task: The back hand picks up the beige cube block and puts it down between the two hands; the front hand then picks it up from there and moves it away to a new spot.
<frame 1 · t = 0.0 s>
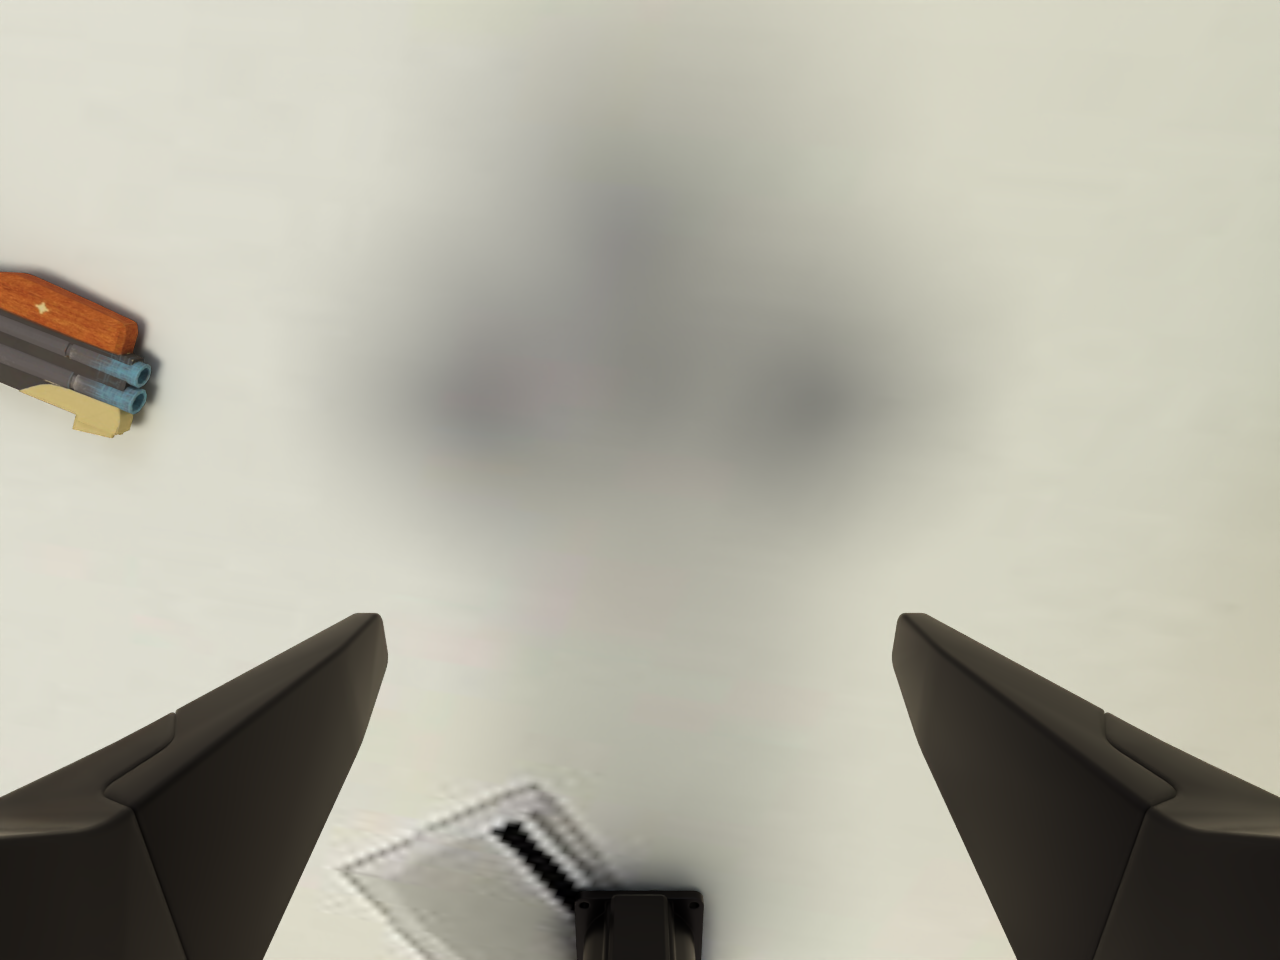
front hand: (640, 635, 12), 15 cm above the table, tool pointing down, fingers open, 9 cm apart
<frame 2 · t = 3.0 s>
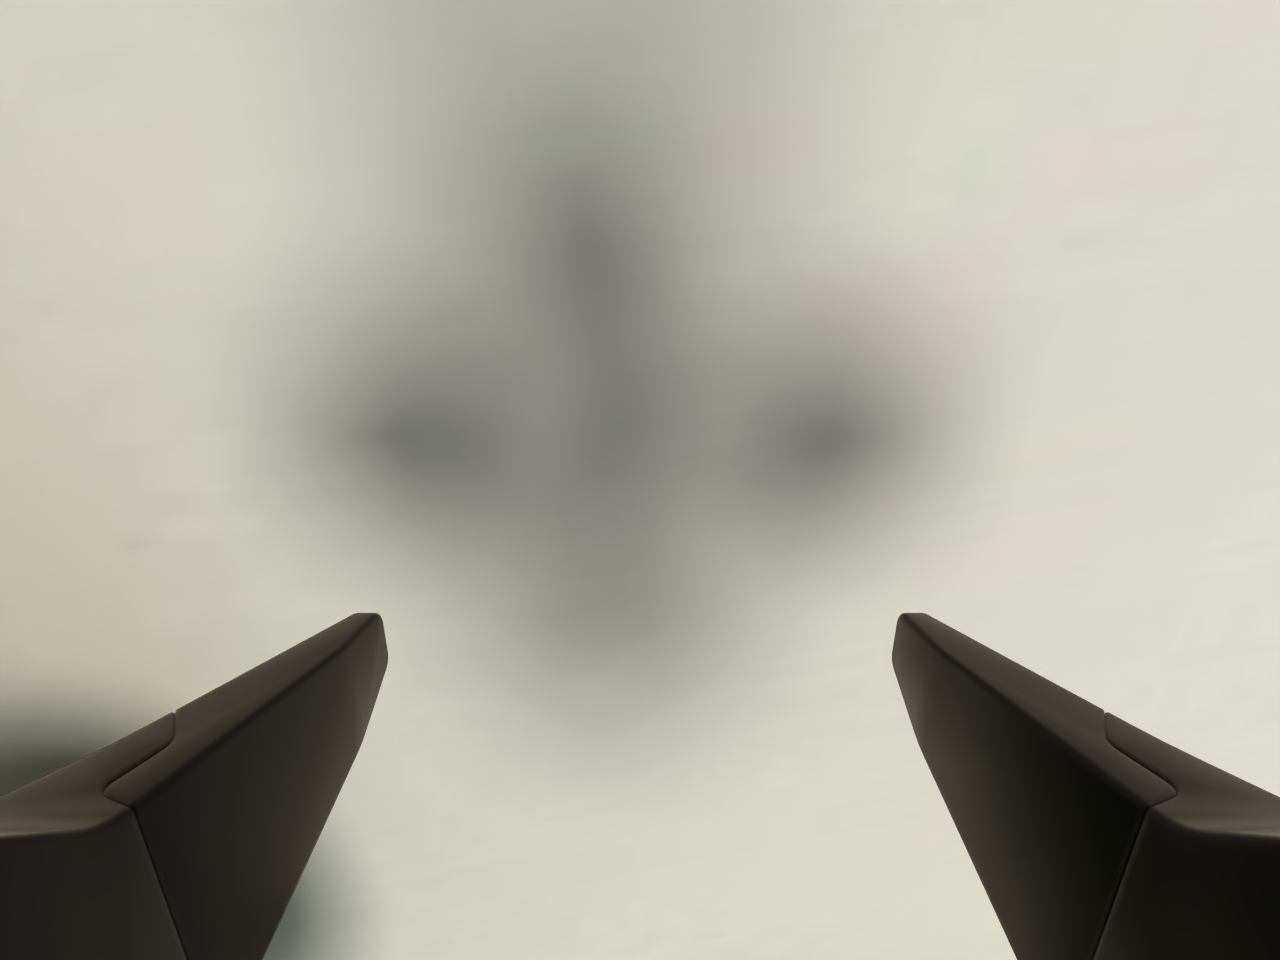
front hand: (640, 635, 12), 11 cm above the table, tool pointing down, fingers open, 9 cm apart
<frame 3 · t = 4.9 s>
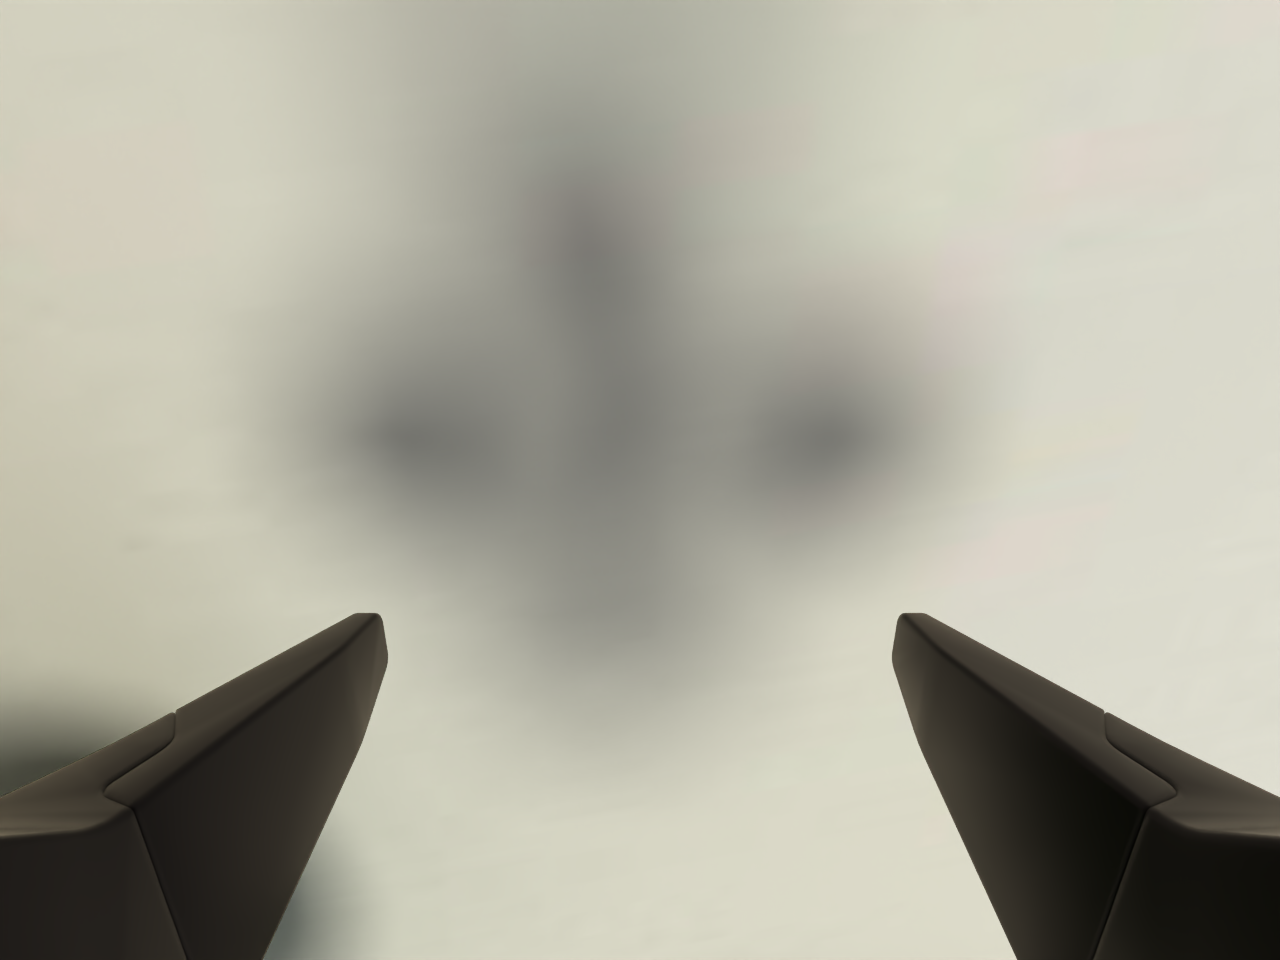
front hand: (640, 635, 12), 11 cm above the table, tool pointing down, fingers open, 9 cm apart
when the back hand's fingers open (1 cm above the table, at t = 7.3 s): beige cube block stays where it is, on the table.
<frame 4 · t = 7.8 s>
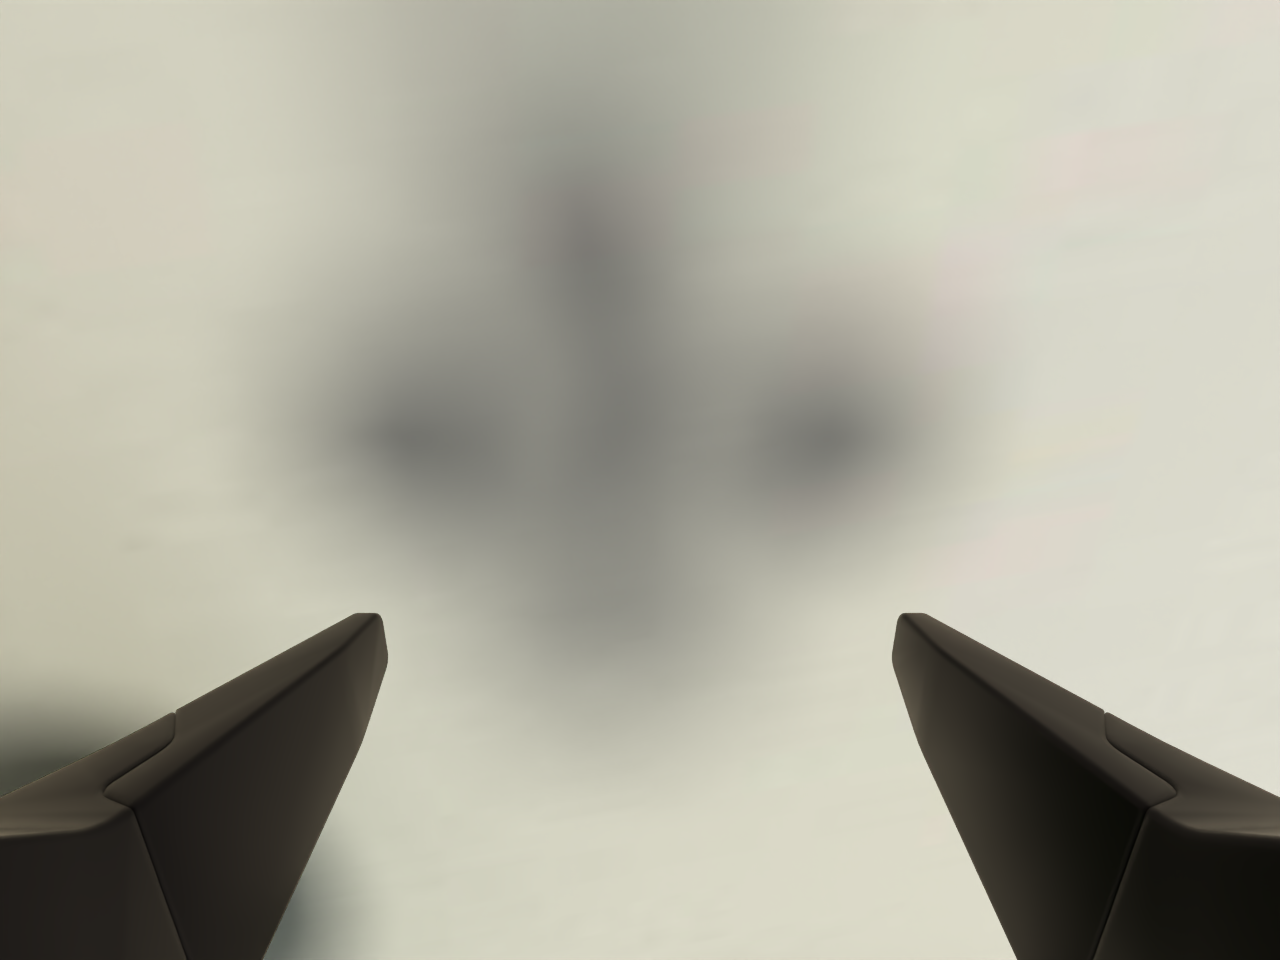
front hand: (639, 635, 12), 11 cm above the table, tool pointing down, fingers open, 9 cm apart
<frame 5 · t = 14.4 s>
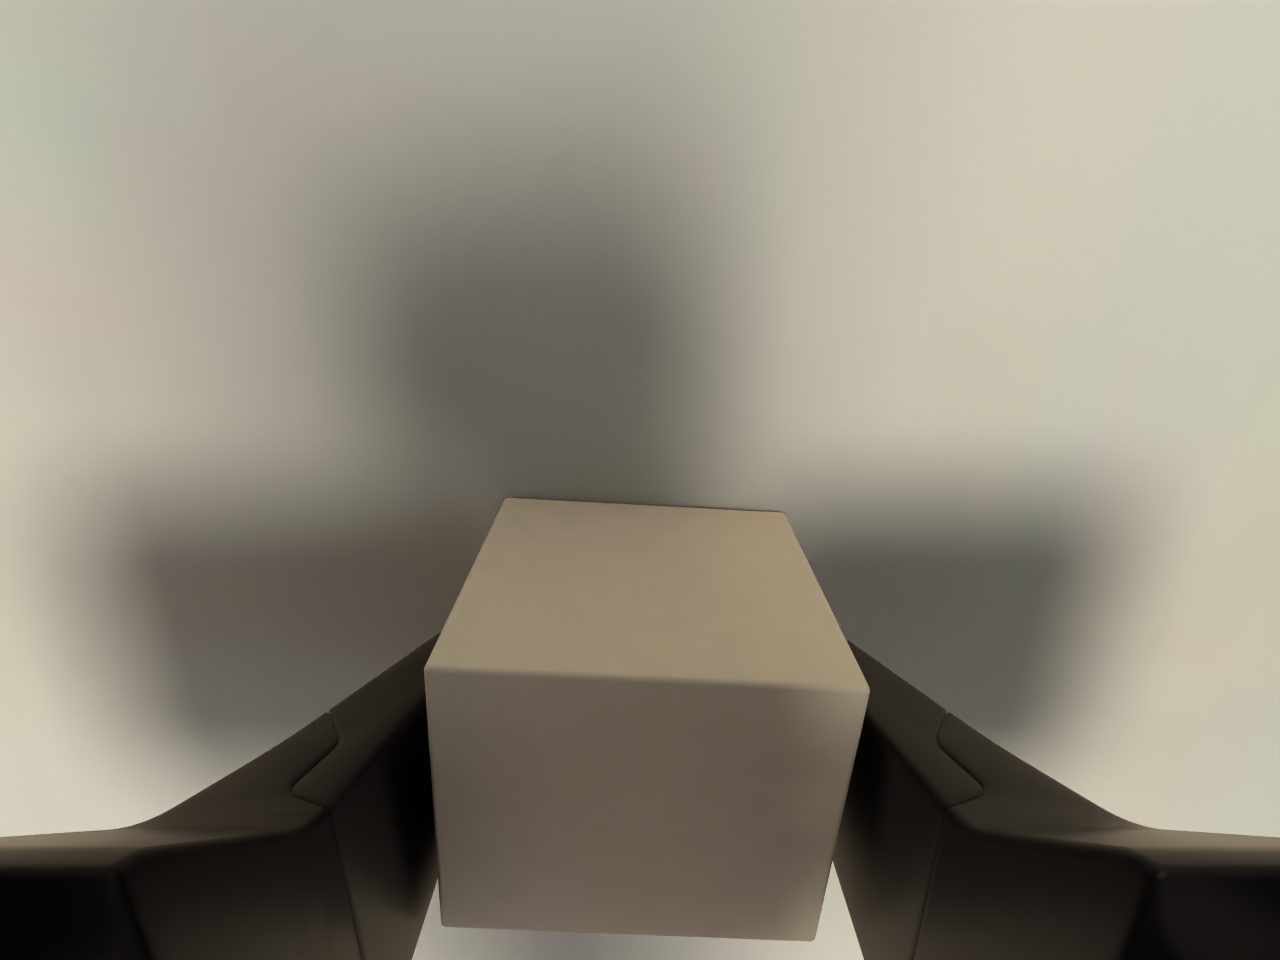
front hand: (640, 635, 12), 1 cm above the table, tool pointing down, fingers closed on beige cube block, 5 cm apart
beige cube block: (638, 604, 13), on the table, touching front hand
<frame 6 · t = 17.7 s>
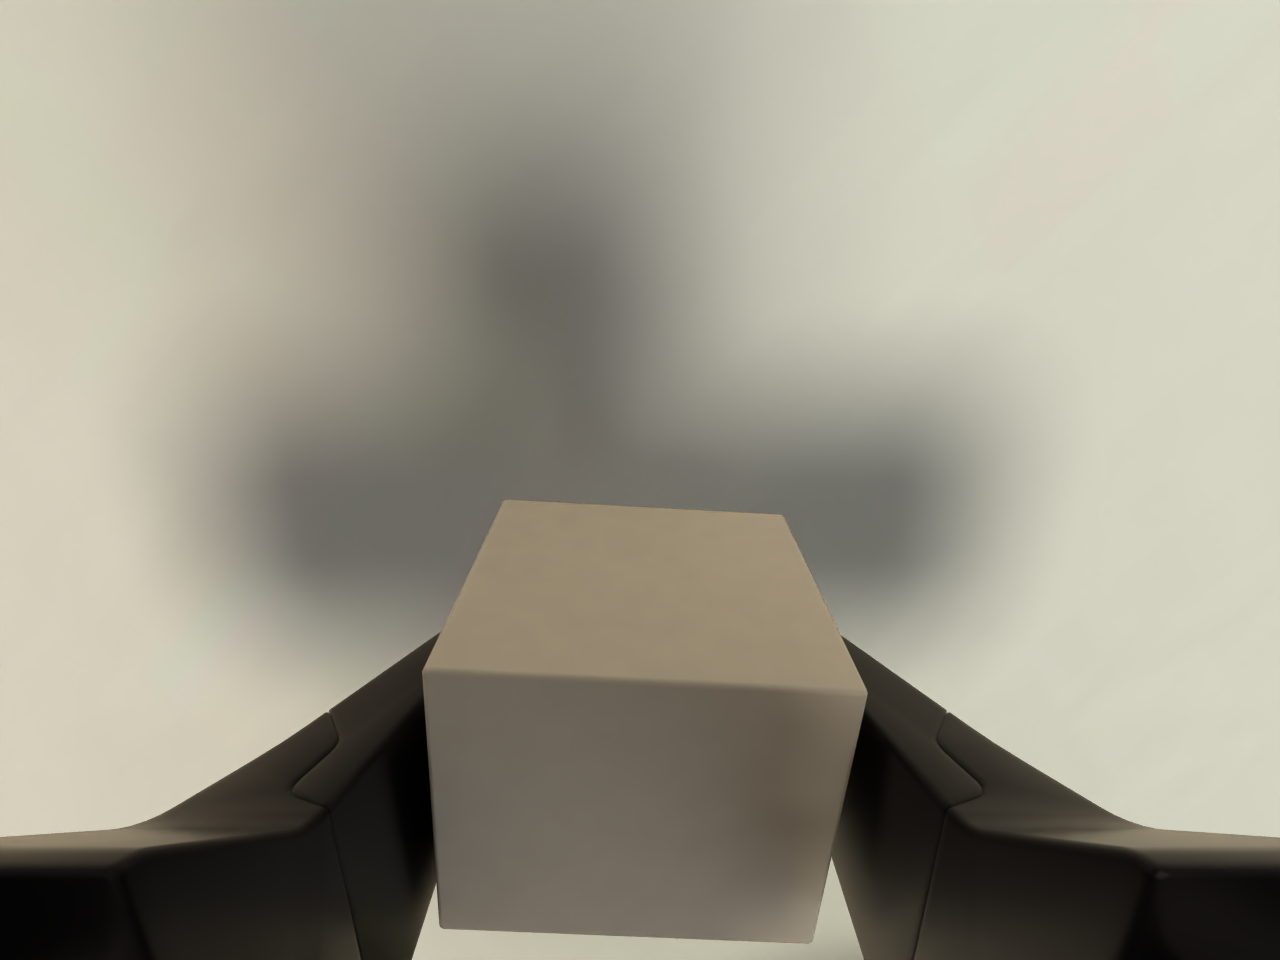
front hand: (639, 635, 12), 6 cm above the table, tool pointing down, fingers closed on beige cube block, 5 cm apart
beige cube block: (637, 606, 13), point 5 cm above the table, touching front hand
when the front hand's fingers open (2 cm above the table, at t = 21.0 s): beige cube block stays where it is, on the table.
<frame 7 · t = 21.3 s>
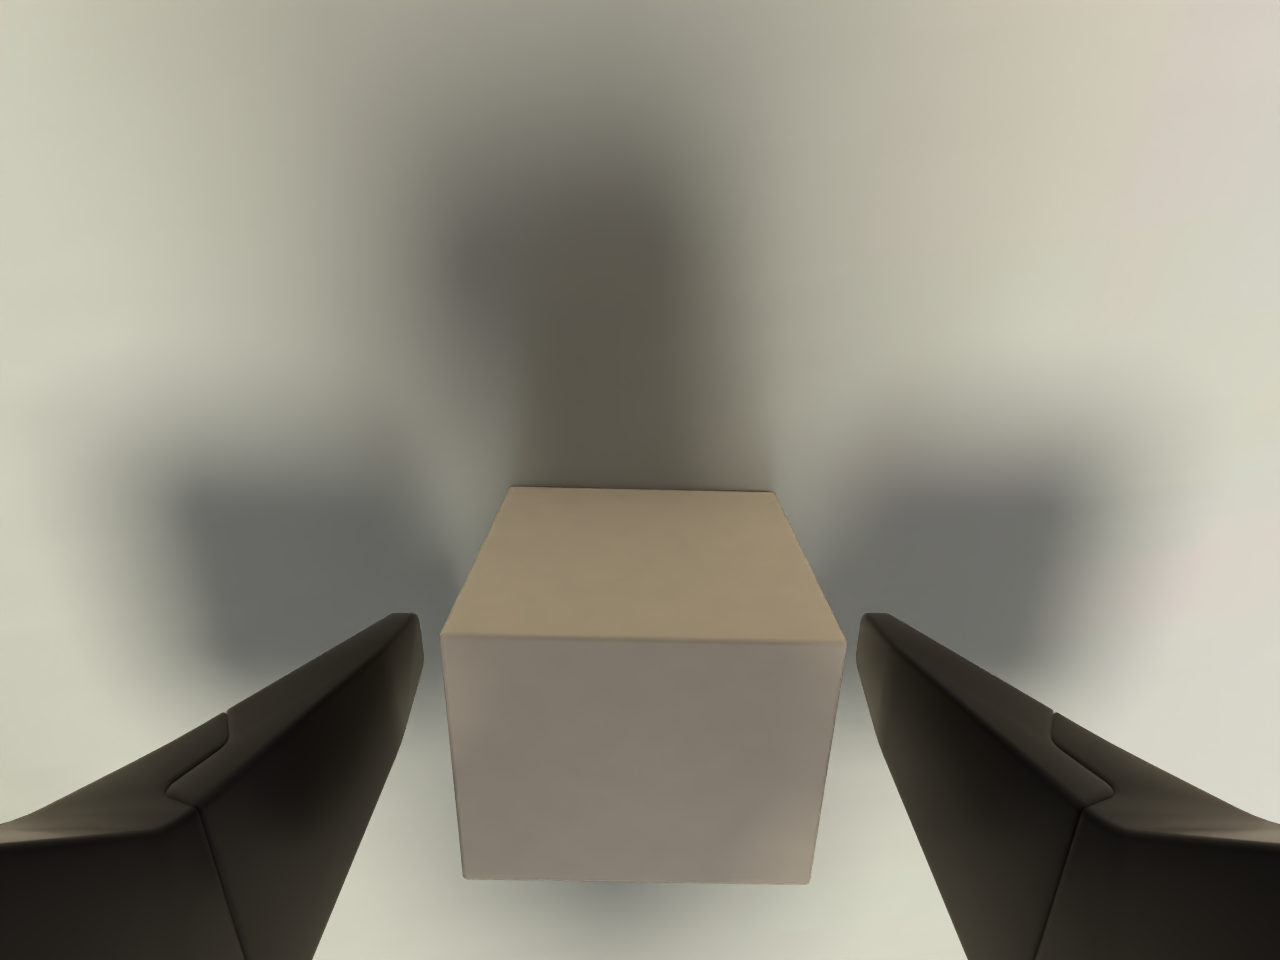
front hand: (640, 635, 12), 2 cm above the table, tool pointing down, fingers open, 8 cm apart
beige cube block: (639, 584, 14), on the table
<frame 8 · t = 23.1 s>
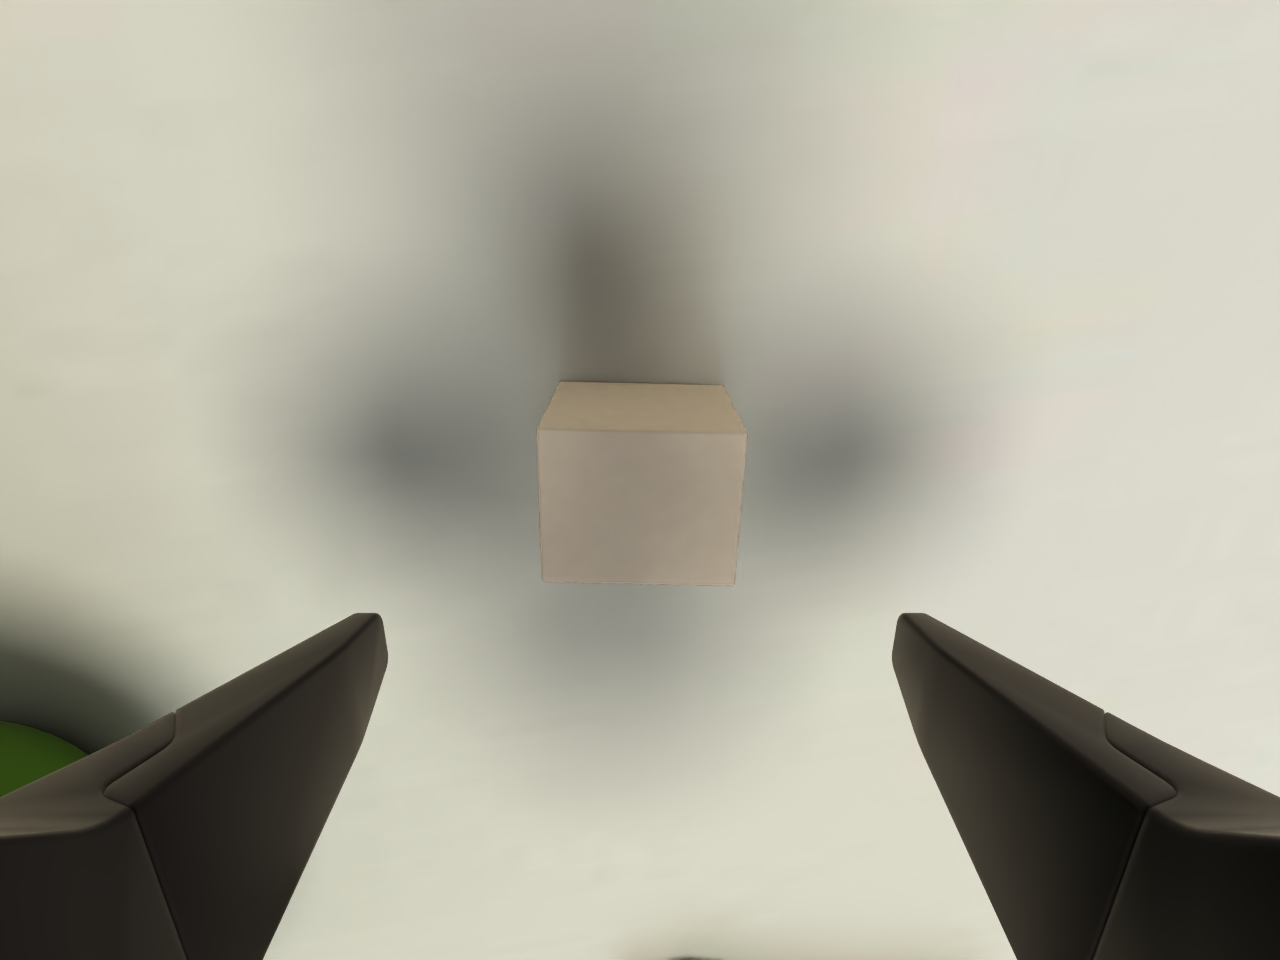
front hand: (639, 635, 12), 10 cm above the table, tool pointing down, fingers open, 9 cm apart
vase: (35, 795, 27), on the table
beige cube block: (640, 448, 21), on the table
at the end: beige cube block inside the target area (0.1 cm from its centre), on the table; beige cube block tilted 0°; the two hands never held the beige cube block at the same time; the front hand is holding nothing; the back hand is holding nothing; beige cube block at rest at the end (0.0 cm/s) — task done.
